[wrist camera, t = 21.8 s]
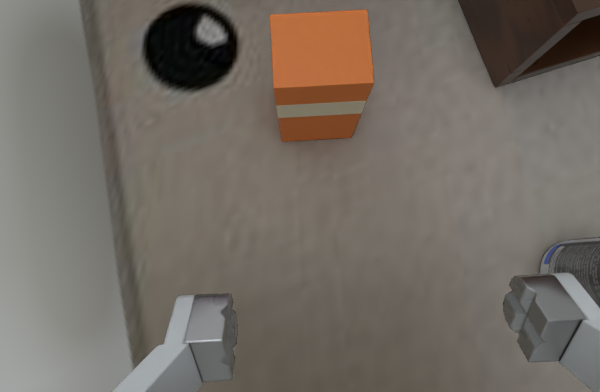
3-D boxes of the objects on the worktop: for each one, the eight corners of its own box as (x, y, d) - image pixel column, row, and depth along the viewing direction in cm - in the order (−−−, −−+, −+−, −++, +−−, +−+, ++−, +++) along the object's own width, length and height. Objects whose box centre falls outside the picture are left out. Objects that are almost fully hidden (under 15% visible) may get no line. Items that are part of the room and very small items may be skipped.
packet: (352, 138, 29) (374, 83, 20) (281, 142, 29) (273, 88, 20) (347, 84, 30) (368, 8, 21) (278, 88, 30) (269, 13, 21)
